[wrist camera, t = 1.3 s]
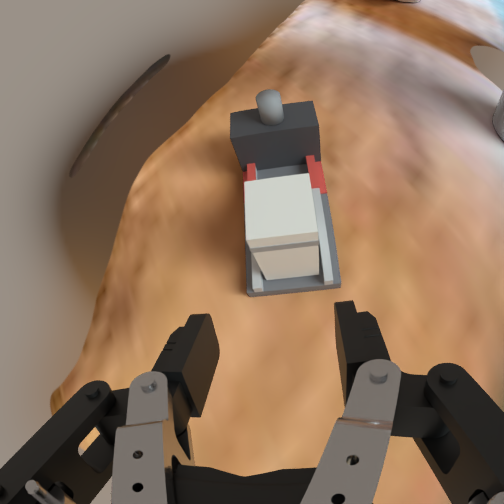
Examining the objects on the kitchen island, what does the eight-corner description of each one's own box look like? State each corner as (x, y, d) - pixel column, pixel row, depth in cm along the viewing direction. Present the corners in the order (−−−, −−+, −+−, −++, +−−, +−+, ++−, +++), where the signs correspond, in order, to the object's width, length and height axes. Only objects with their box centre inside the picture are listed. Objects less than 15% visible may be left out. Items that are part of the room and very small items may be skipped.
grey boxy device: (340, 287, 31) (348, 243, 21) (250, 297, 32) (219, 258, 23) (315, 144, 38) (310, 78, 29) (245, 153, 40) (223, 91, 30)
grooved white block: (319, 275, 30) (318, 232, 22) (265, 280, 31) (245, 240, 22) (313, 226, 32) (309, 172, 24) (263, 232, 33) (243, 181, 24)
